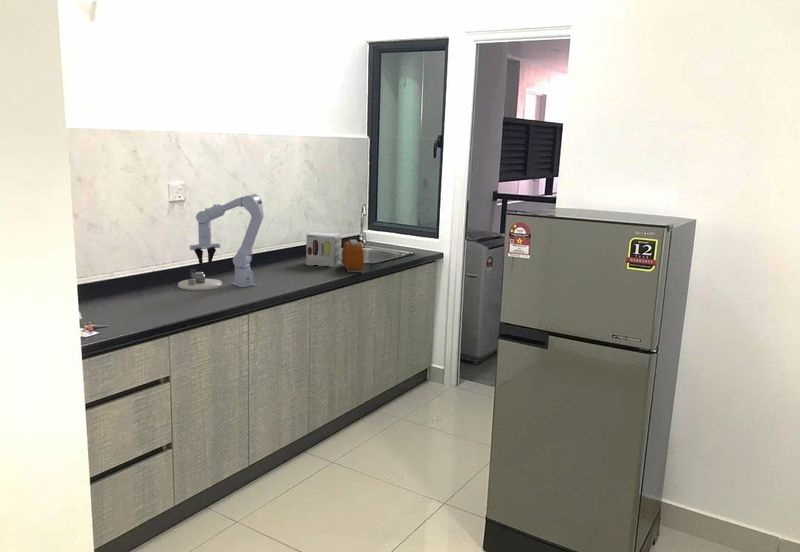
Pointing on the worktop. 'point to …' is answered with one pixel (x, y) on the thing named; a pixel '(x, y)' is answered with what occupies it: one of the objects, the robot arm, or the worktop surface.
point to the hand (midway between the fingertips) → (205, 263)
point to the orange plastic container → (353, 256)
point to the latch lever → (197, 276)
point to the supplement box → (323, 249)
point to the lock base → (200, 284)
